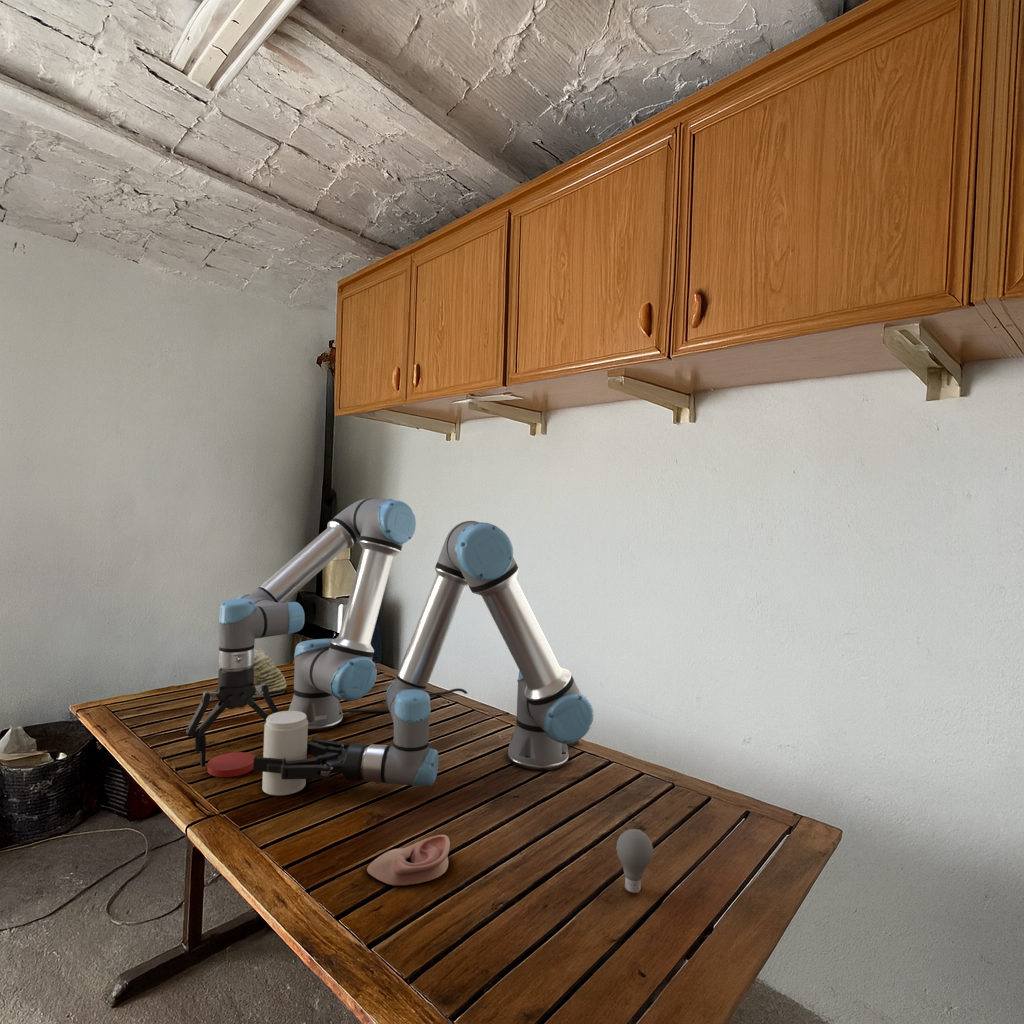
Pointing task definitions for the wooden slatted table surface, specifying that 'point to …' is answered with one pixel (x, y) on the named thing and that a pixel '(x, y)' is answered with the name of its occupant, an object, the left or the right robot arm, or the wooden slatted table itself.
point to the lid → (231, 764)
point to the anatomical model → (412, 862)
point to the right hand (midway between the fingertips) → (265, 754)
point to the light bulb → (634, 857)
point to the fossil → (267, 674)
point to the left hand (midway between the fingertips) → (235, 758)
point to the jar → (284, 749)
